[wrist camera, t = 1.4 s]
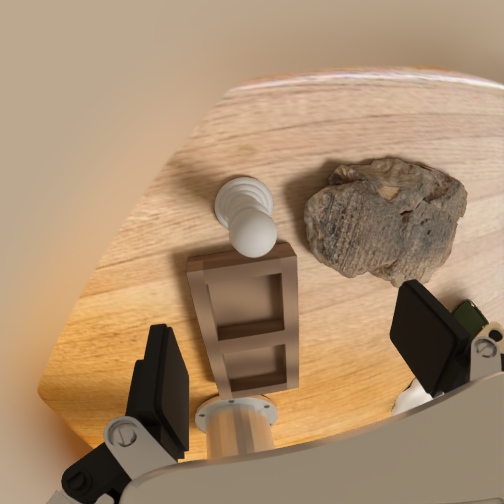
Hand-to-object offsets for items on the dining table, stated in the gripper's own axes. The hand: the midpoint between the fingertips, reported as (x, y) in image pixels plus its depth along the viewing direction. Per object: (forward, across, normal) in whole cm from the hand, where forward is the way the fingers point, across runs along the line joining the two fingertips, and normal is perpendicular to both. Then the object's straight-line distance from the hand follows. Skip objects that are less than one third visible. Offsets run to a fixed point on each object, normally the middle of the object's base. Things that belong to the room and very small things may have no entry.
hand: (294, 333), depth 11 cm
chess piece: (+18, 0, 0) cm, 18 cm away
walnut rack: (+18, +1, +14) cm, 23 cm away
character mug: (+18, -33, +22) cm, 44 cm away
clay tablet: (+18, -14, +4) cm, 24 cm away
